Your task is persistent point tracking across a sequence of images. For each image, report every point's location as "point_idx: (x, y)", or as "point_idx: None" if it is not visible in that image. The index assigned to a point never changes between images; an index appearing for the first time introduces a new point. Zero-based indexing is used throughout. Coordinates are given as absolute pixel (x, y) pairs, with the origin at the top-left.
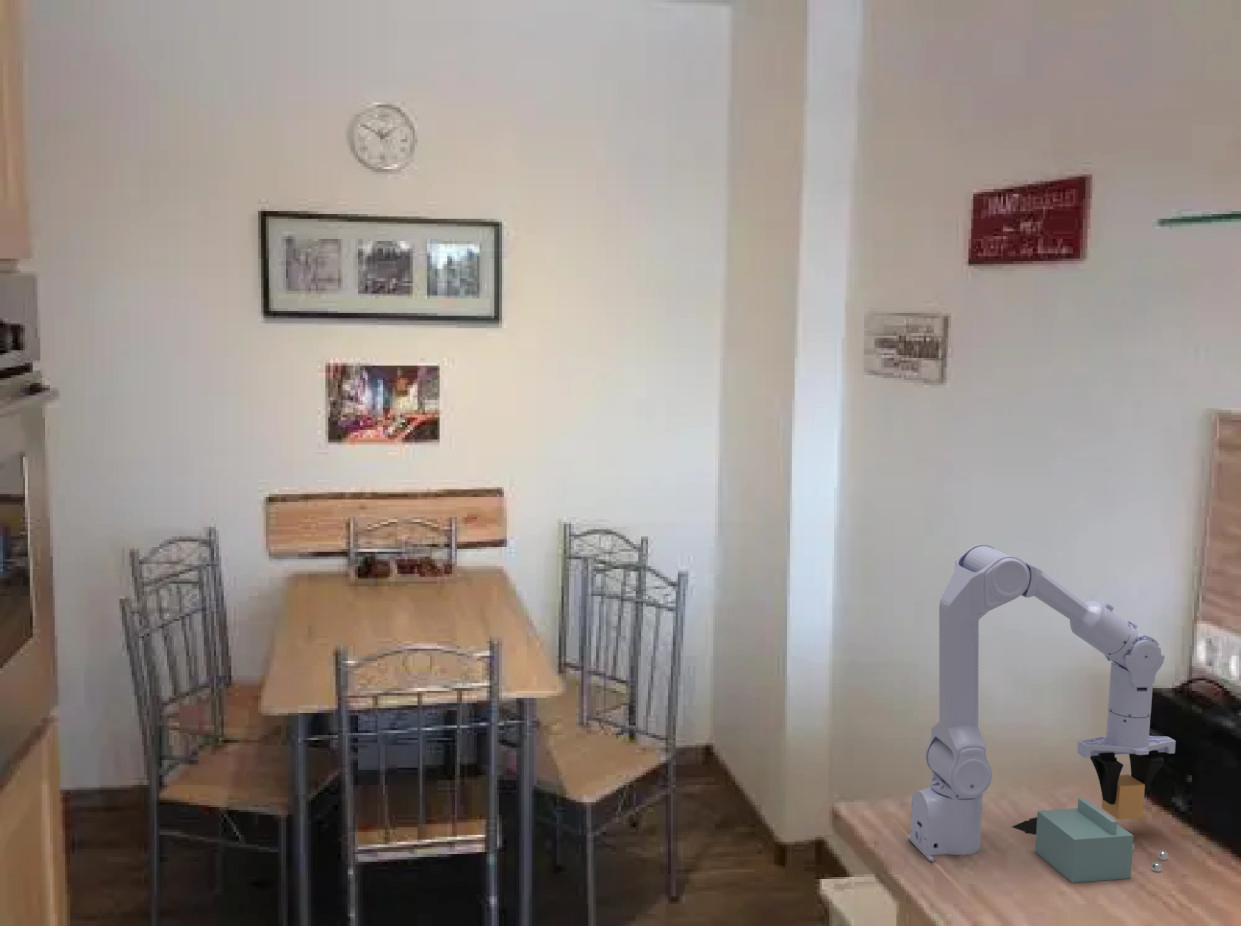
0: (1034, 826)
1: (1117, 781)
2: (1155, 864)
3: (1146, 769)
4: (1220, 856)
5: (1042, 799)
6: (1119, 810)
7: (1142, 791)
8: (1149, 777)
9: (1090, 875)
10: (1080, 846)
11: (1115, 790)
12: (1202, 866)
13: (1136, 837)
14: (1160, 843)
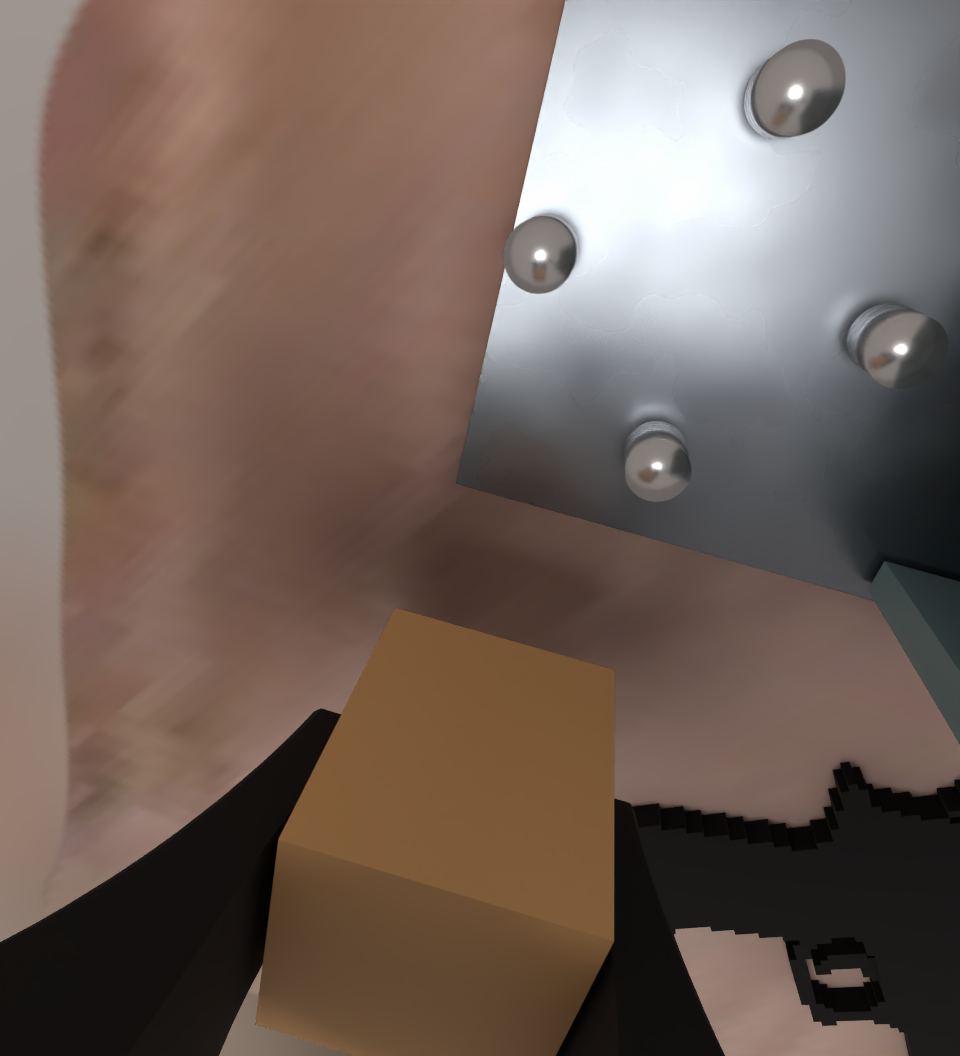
0: (889, 891)
1: (627, 1025)
2: (836, 73)
3: (146, 1051)
4: (65, 163)
5: None
6: (604, 721)
7: (334, 783)
8: (162, 906)
9: None
10: None
11: (625, 915)
12: (297, 81)
13: (395, 583)
14: (317, 471)
